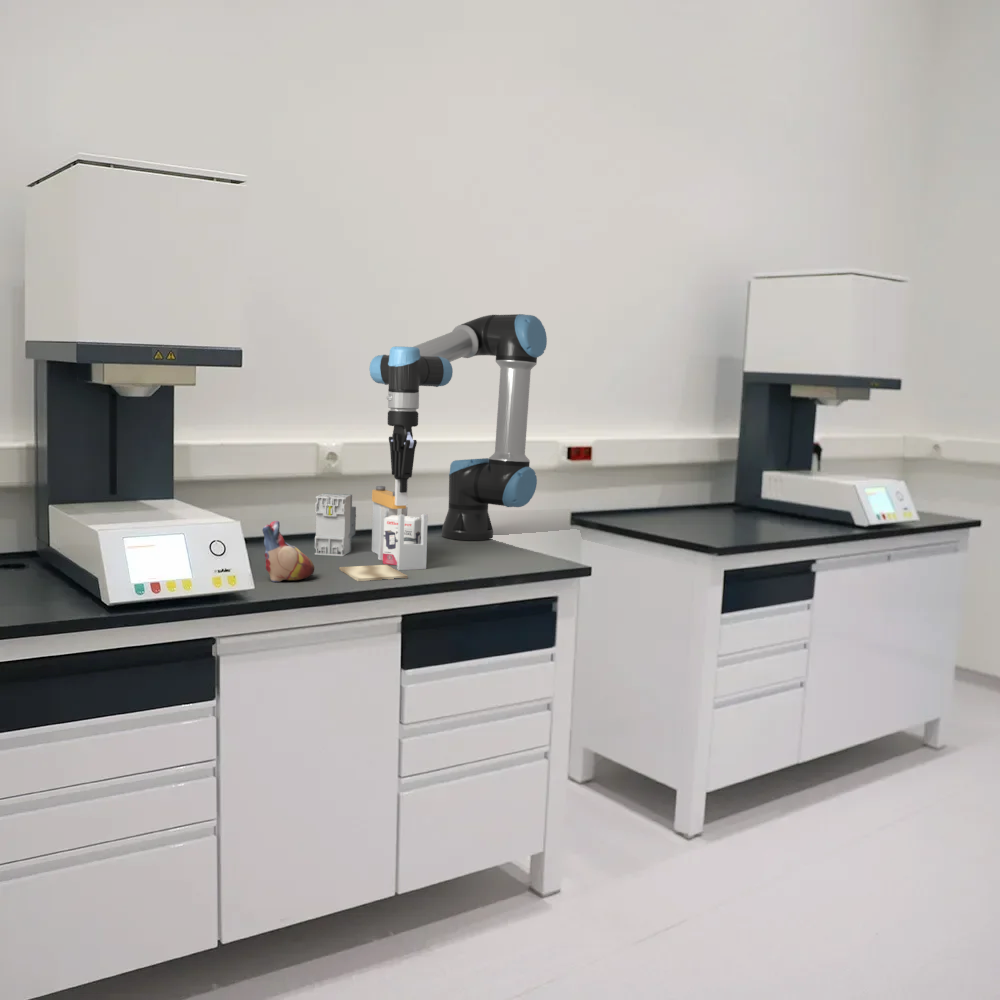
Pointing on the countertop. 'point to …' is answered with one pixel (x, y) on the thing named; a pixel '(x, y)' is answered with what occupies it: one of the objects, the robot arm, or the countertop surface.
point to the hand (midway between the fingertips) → (400, 505)
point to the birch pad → (372, 572)
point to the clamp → (399, 539)
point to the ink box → (391, 536)
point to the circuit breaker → (334, 524)
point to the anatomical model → (284, 557)
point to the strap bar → (385, 498)
